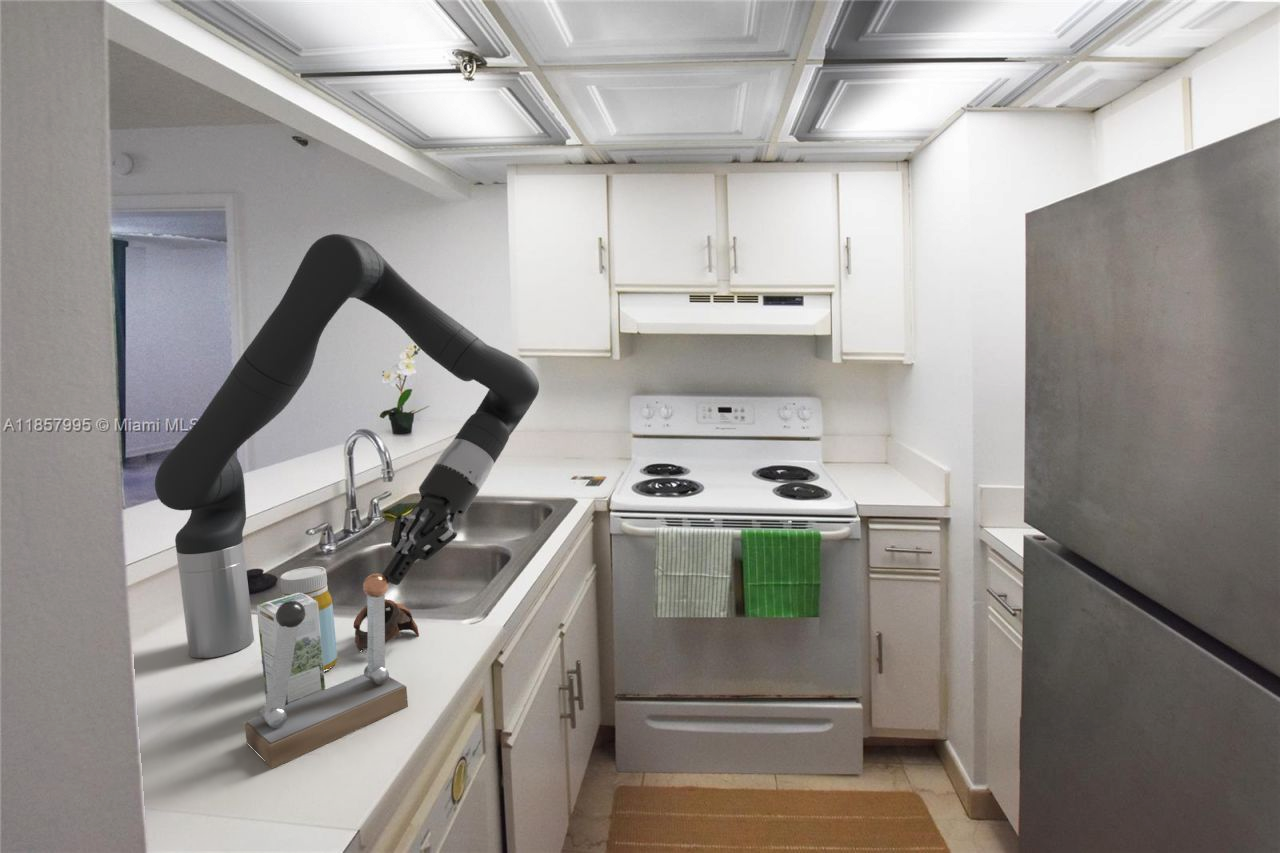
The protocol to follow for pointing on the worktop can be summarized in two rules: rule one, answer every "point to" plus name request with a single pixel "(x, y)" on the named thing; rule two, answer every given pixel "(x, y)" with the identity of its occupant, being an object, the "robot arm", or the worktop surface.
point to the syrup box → (307, 647)
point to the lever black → (282, 662)
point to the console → (325, 718)
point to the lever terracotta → (376, 627)
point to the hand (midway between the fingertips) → (389, 581)
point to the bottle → (315, 586)
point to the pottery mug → (386, 623)
